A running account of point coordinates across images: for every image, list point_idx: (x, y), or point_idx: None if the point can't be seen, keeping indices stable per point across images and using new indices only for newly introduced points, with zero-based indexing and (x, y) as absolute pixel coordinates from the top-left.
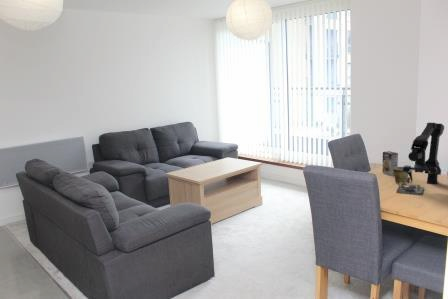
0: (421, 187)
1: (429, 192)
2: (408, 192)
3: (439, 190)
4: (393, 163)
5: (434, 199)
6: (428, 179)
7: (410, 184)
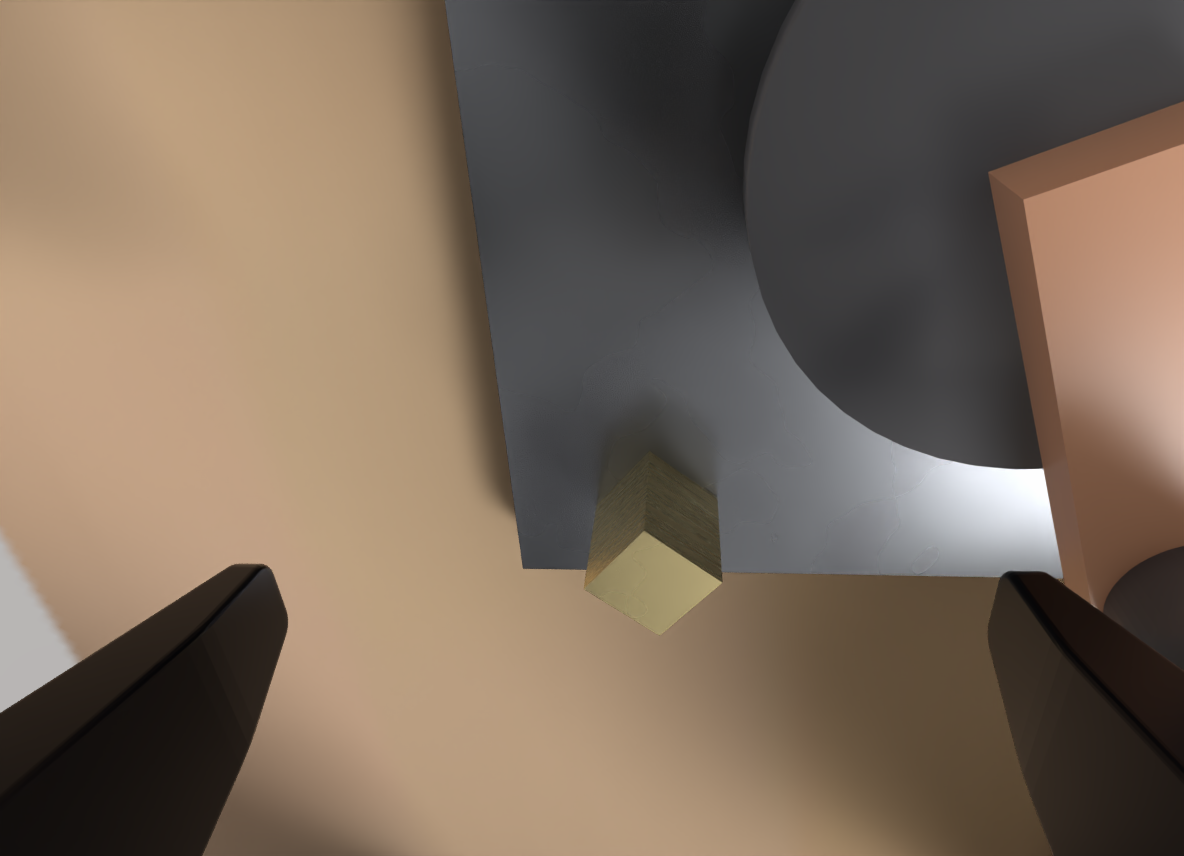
0: (579, 524)
1: (223, 143)
2: None
3: (76, 494)
4: None
5: None
6: (42, 704)
7: (1125, 226)
